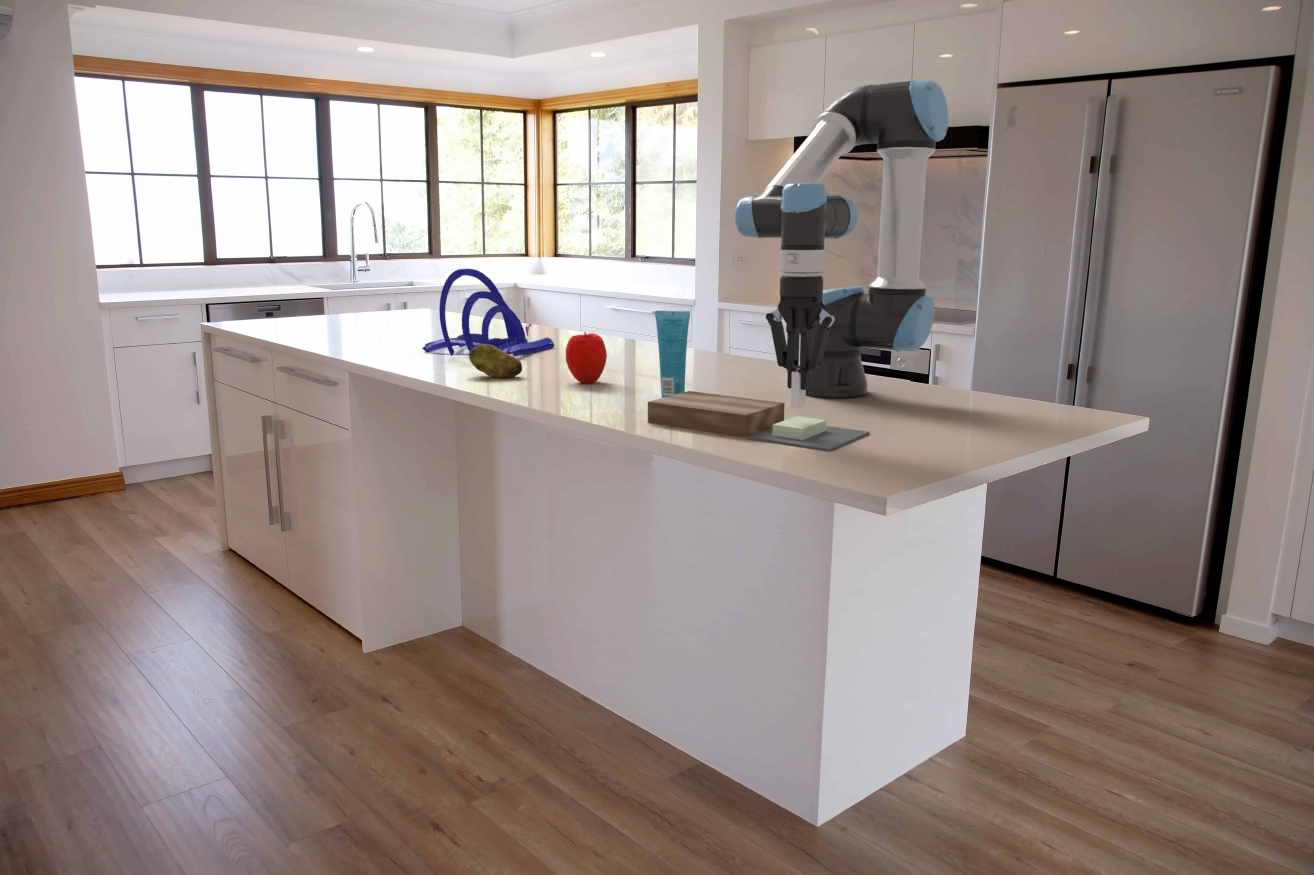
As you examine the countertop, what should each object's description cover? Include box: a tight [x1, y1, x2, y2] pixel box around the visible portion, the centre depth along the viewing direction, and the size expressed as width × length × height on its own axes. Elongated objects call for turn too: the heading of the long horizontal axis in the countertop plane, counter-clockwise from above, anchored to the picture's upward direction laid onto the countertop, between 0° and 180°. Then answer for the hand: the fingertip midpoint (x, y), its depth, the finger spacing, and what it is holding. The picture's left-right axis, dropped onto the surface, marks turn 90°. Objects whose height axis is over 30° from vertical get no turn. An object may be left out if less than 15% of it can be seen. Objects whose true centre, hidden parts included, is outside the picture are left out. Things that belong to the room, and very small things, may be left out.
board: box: [647, 390, 786, 438], centre depth 184 cm, size 14×22×4 cm, turn 54°
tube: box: [654, 310, 691, 398], centre depth 204 cm, size 7×5×19 cm, turn 90°
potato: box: [468, 344, 523, 379], centre depth 237 cm, size 8×13×8 cm, turn 58°
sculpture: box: [421, 268, 555, 357], centre depth 282 cm, size 35×34×26 cm
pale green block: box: [772, 415, 827, 440], centre depth 173 cm, size 9×6×2 cm, turn 143°
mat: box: [747, 425, 871, 452], centre depth 173 cm, size 16×16×1 cm
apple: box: [565, 331, 608, 384], centre depth 228 cm, size 10×10×12 cm
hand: (798, 406), depth 173 cm, fingers closed
